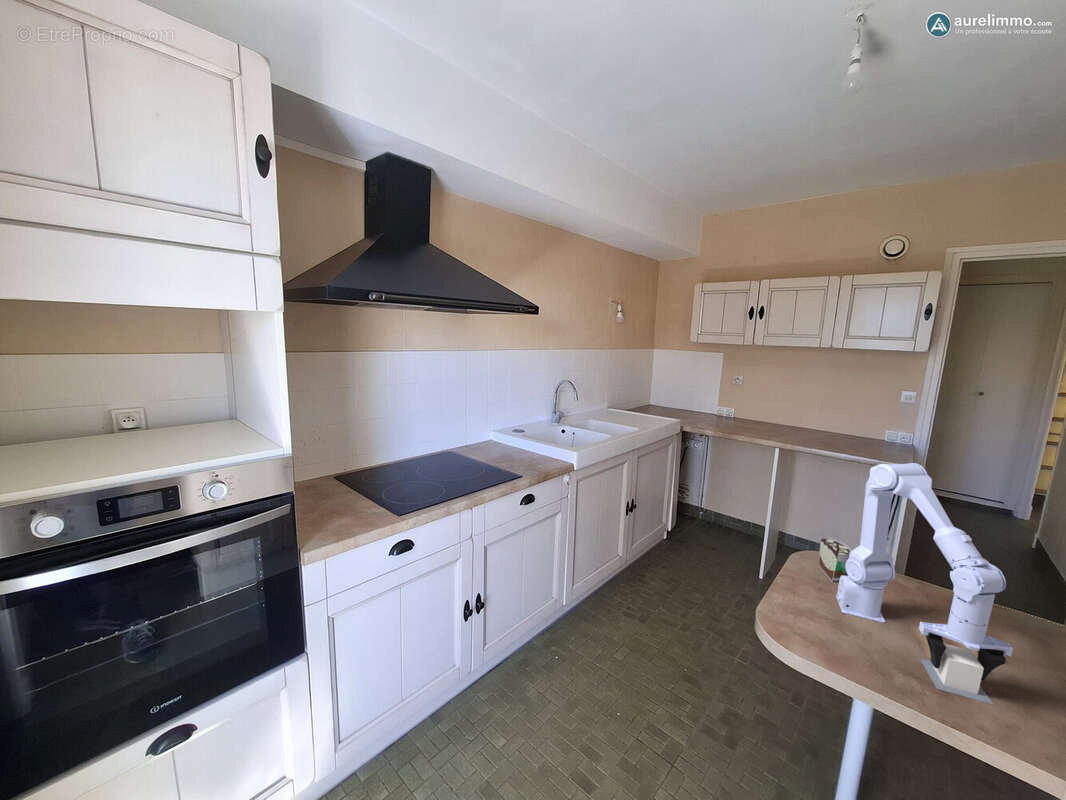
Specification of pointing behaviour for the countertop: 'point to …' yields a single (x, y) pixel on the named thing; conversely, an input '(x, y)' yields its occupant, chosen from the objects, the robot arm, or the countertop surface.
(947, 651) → the matte white cube
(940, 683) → the mat
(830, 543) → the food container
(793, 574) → the countertop surface
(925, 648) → the board
